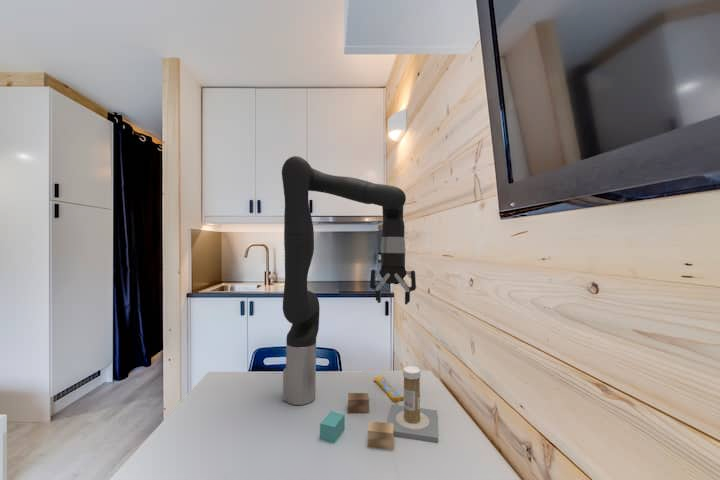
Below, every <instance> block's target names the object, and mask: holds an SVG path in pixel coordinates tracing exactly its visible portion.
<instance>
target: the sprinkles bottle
mask: <svg viewBox="0 0 720 480" xmlns="http://www.w3.org/2000/svg"><path fill="white" fill-rule="evenodd" d="M402 371H403V373H402V376H403V397H404V399H403V406H404V419H405V420H406V421H407V422H410V423H417V422H419V421H420V408H421V389H420V388H421V387H420V386H421V385H420V384H421V382H420V380H421V369H420V368H419V367H416V366H414V365H412V366H410V365H409V366H404V368H403V370H402Z"/></svg>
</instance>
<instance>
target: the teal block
mask: <svg viewBox="0 0 720 480" xmlns="http://www.w3.org/2000/svg"><path fill="white" fill-rule="evenodd" d="M345 415H346V414H345V413H340V412H335V411H332V410H331V411H330V412H329V413H328V414H327V415H326V416H325V417H324V419H322V421H321V422H320V423H319V440H321V441H326V442H329V443H332V444H335V443H336V442H337V440H338V439H339V437H340V436H341V435H342V434H343V432H344V431H345V426H346V425H345V423H346V422H345V420H346V419H345Z"/></svg>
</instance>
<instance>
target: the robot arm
mask: <svg viewBox="0 0 720 480" xmlns="http://www.w3.org/2000/svg"><path fill="white" fill-rule="evenodd" d="M281 178H282V186H283V195H284V220H283V221H284V222H283V224H284V225H283V226H284V228H283V229H284V230H283V232H284V233H283V241H284V243H283V246H284V247H283V248H284V286H283V295H282V296H283V297H282V312H283V316H284V318H285V319H286V320H287V321H288V323H290V324H291V326H290V329H289V331H288V332H287V335H286V338H285V339H286V340H285V341H286V342H285V343H286V345H285V347H286V349H285V350H286V353H285V355H286V356H285V357H286V358H285V368H283V372H282V374H283V375H282V401H283V402H286V403H287V404H290V405H293V406H303V405H307V404H311V403H312V402H313V401H314V400H315V399H316V385H317V384H316V379H317V378H316V377H317V375H316V371H317V369H316V367H317V337H318V333H319V329H320V328H319V326H320V311H321V310H320V308H321V307H320V302H319V301H320V300H319V298H318V296H317V295H316V294H315V293H314V292H313V291H311V290H308V276H309V275H308V274H309V271H310V267H311V264H312V260H313V257H314V251H315V235H314V234H315V230H314V223H313V219H312V214H311V209H310V204H309V192H317V193H325V194H328V195H333V196H337V197H340V198H342V199H346V200H350V201H353V202H357V203H361V204H364V205H374V206H375V205H376V206H380V207H382V226H381V227H382V228H381V229H382V230H381V234H382V235H381V238H382V239H381V245H380V248H381V249H380V253H381V254H380V258H381V259H380V260H381V261H380V270H378V269H375V268H373V269H372V270H371V271H370V280H369V281H370V282H369V284H370V285H369V287H370V289H372V290H374V291H375V301H376V302H377V303H378V304H380V303H382V291H381V289H382V287H383V286H384V285H385V284H388V285H392V284H394V285H399V284H400V285H401V287H402V288H403V290H404V291H405V292H404V305H408V303H410V301H411V292H413V291H416V289H417V284H416V283H417V282H416V271H415V270H406V250H407V249H406V240H405V229H406V228H405V221H404V205H405V203H406V200H407V199H406V198H407V197H406V193H405V192H404V191H403V190H402V188H400V187H397V186H394V185H387V184H381V183H373V182H371V181H367V180H365V179H360V178H355V177H352V176H340V175H333V174H329V173H328V174H327V173H325V172H322V171H320V170H317V169H315V168H313V167H312V166H311V164H310V163H309V162H308V161H307V160H306V159H304V158H303V157H301V156H297V155H293V156H291V157H288V158H287V159H286V160H285V162H284V163H283V165H282V167H281ZM406 275H407V276H408V278H409V279H410V281H411V282H410V283H411V286H409V285H408V284H407V282H406V281H405V280H404V278H405V277H406ZM378 276H380V277H381V278H382V279H381V281H380V282H378V284H377V285H376V279H377V278H376V277H378Z"/></svg>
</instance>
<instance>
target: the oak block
mask: <svg viewBox="0 0 720 480" xmlns="http://www.w3.org/2000/svg"><path fill="white" fill-rule="evenodd" d="M394 438H395V436H394V424H393V423H387V422H380V421H370V420H369V424H368V427H367V448H371V449H372V448H373V449H379V450H380V449H382V450H390V451H393V450H394V442H395V441H394Z"/></svg>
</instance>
